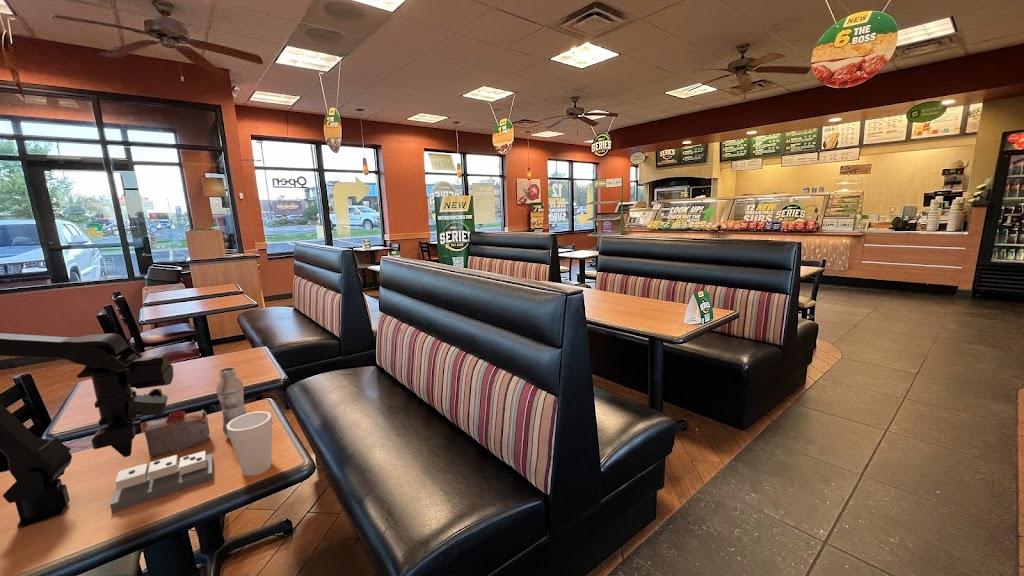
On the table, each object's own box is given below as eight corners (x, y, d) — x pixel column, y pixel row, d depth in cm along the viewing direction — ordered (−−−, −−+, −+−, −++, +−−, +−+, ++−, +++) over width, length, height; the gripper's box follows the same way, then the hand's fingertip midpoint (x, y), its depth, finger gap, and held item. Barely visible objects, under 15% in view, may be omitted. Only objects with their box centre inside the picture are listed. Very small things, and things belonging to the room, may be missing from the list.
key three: (180, 475, 98) (179, 466, 98) (181, 465, 102) (180, 456, 102) (206, 467, 101) (205, 459, 101) (206, 457, 105) (205, 449, 105)
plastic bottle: (238, 441, 117) (227, 375, 113) (218, 439, 118) (206, 373, 114) (256, 429, 123) (246, 366, 119) (237, 428, 124) (226, 364, 120)
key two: (149, 480, 95) (147, 471, 95) (151, 469, 99) (150, 461, 99) (177, 472, 98) (175, 463, 97) (178, 462, 102) (176, 453, 101)
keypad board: (112, 512, 90) (110, 504, 90) (119, 488, 98) (118, 480, 98) (213, 479, 100) (211, 472, 100) (213, 460, 108) (211, 453, 108)
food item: (211, 431, 123) (206, 400, 121) (211, 443, 116) (205, 411, 114) (151, 447, 115) (144, 415, 113) (147, 461, 108) (140, 427, 107)
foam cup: (286, 462, 107) (279, 415, 104) (251, 483, 98) (242, 433, 96) (262, 453, 111) (255, 408, 108) (226, 473, 102) (217, 425, 100)
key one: (116, 490, 92) (114, 481, 91) (120, 478, 96) (118, 470, 95) (146, 481, 95) (144, 472, 94) (149, 470, 99) (147, 462, 98)
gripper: (157, 396, 88) (170, 462, 91) (164, 370, 103) (175, 427, 106) (84, 412, 82) (100, 482, 85) (103, 381, 97) (116, 442, 100)
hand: (127, 455), depth 94 cm, fingers closed
